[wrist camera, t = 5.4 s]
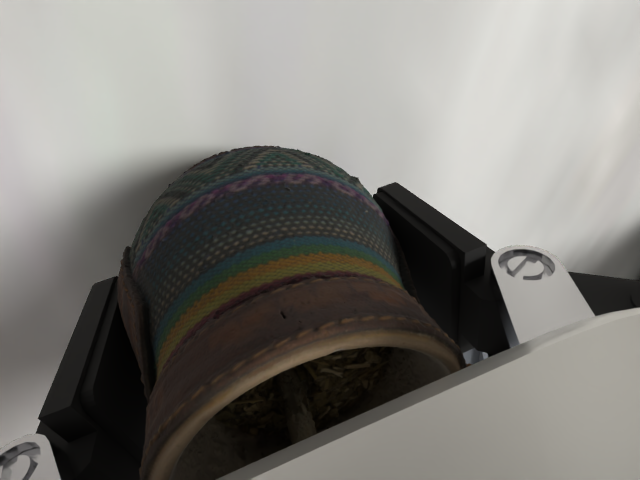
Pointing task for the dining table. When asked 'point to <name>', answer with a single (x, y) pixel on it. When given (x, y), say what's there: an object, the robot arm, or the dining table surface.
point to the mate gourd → (268, 311)
